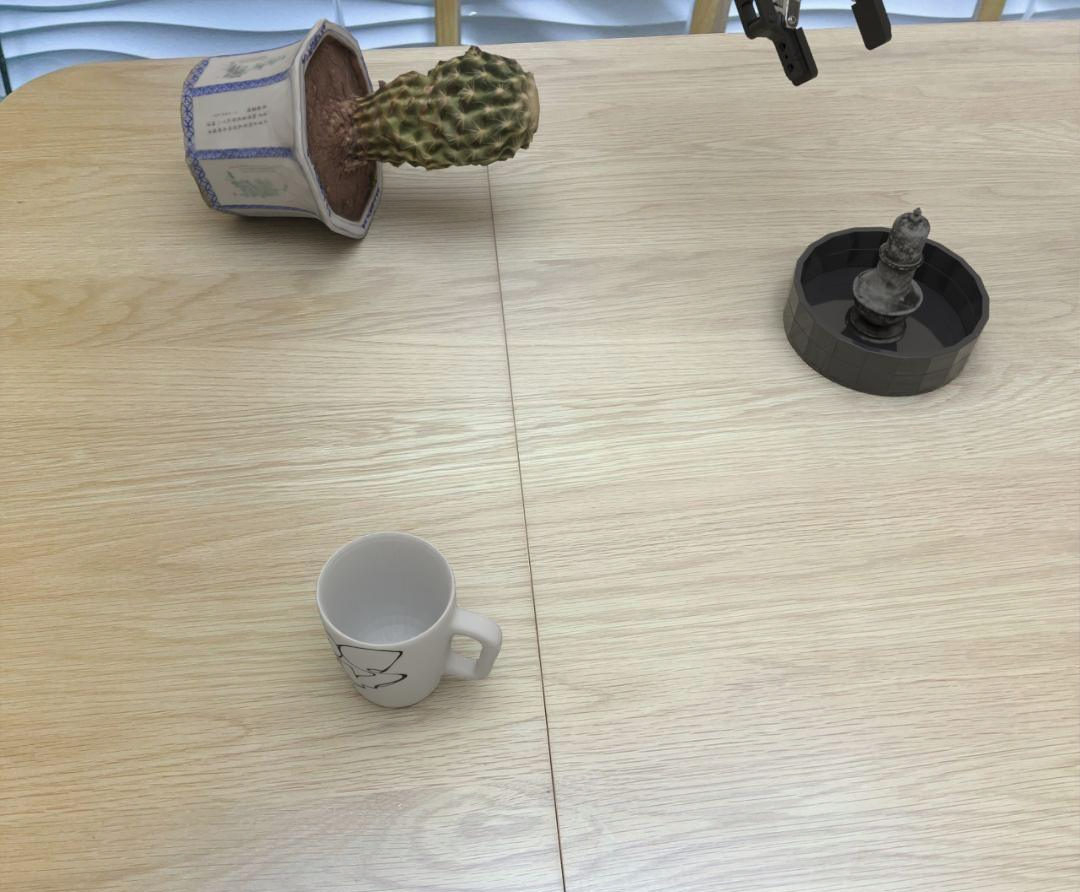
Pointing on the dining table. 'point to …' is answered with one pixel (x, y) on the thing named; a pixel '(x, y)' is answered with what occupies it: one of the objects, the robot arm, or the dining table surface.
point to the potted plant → (342, 125)
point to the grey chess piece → (890, 283)
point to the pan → (932, 330)
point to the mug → (399, 618)
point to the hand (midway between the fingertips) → (844, 63)
